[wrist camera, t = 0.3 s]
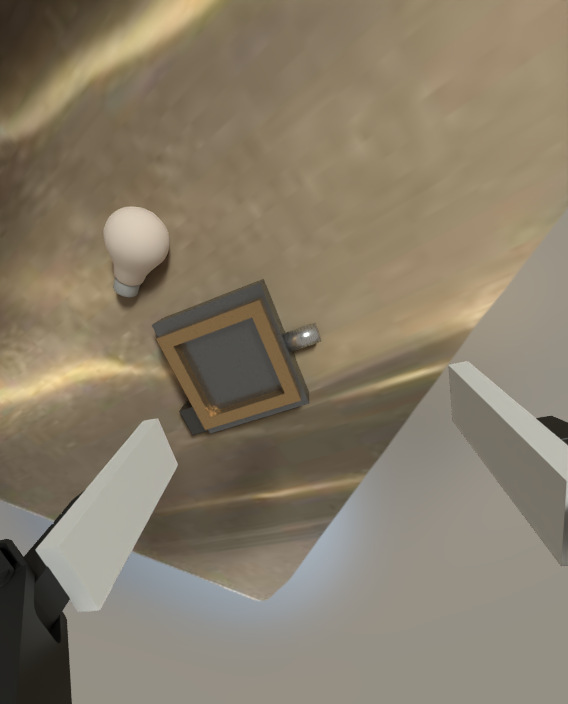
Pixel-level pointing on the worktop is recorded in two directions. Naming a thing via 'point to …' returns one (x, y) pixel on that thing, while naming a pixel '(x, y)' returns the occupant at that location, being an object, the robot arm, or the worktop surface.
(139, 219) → the light bulb
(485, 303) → the worktop surface
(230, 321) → the grey brown-rimmed square tray
